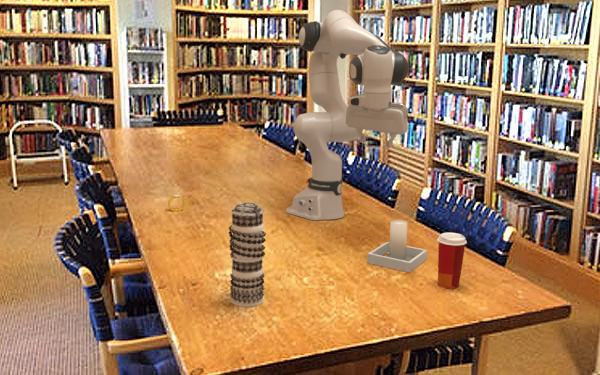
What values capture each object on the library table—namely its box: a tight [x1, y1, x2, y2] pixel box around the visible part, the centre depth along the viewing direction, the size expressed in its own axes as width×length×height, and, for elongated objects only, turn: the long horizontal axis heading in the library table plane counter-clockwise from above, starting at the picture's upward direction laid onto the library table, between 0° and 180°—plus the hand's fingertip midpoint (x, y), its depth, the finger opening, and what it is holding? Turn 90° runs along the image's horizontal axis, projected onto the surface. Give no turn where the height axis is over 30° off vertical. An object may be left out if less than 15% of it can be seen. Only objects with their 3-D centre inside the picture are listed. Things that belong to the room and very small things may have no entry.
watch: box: [167, 194, 185, 212], centre depth 237 cm, size 6×3×6 cm, turn 112°
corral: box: [366, 241, 429, 274], centre depth 188 cm, size 14×14×3 cm
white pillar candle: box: [388, 219, 408, 261], centre depth 187 cm, size 5×5×12 cm
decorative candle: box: [228, 202, 267, 308], centre depth 155 cm, size 9×9×25 cm
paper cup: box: [436, 232, 468, 290], centre depth 170 cm, size 8×8×14 cm
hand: (375, 144), depth 194 cm, fingers open, 8 cm apart
